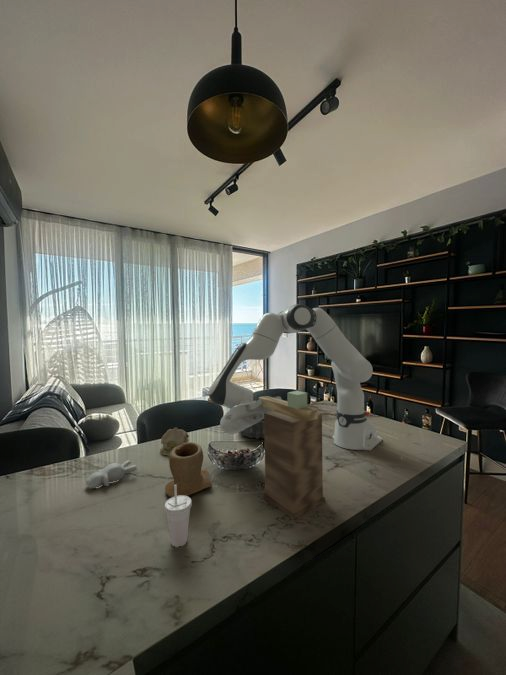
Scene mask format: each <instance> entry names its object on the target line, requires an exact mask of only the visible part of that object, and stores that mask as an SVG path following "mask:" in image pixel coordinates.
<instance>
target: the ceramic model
mask: <svg viewBox="0 0 506 675" xmlns="http://www.w3.org/2000/svg"><path fill="white" fill-rule="evenodd" d="M189 436H190V435H189V434H188V431H187V432H186V431H185V430H184V429H179V428H178V427H177V426H176V427H173V429H172V428H170V429H167V431H166V432H165V433H164V434H163V435H162V437H161V440H160V444H161V445H162V447H161V448H160V451H159V453H160V454H161V455H162V454H163V455H162V456H164V455H169V456H168V457H170V453H171V451H172V450H173V449H174V448H175V447H177V446H179V445H181V444H183V443H188V442H190V440H189Z"/></svg>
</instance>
